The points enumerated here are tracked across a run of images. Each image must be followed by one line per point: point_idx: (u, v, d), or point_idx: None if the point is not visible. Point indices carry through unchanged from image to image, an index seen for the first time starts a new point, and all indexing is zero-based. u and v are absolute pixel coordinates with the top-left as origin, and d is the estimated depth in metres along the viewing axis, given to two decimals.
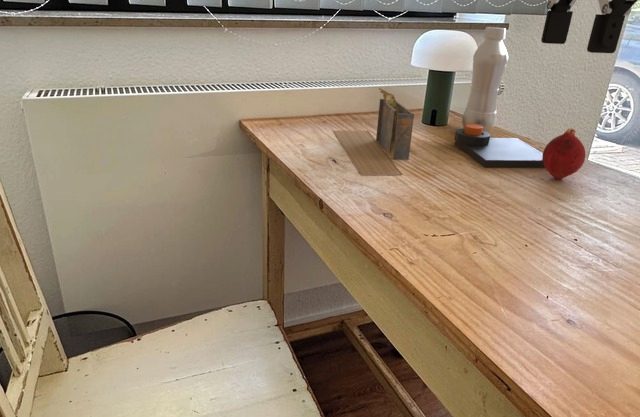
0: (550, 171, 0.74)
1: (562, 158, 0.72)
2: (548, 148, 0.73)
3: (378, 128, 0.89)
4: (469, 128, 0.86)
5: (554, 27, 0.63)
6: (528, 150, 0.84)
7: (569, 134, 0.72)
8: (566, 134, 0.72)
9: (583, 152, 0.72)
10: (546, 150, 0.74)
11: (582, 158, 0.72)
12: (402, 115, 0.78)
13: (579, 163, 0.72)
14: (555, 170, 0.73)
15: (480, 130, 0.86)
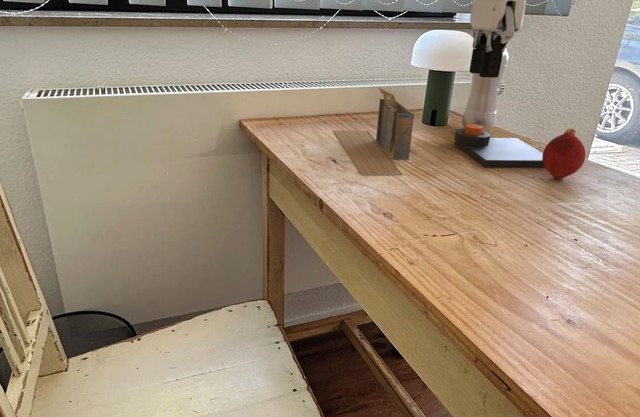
0: (550, 171, 0.74)
1: (562, 158, 0.72)
2: (548, 148, 0.73)
3: (378, 128, 0.89)
4: (469, 128, 0.86)
5: (478, 61, 0.84)
6: (528, 150, 0.84)
7: (569, 134, 0.72)
8: (566, 134, 0.72)
9: (583, 152, 0.72)
10: (546, 150, 0.74)
11: (582, 158, 0.72)
12: (402, 115, 0.78)
13: (579, 163, 0.72)
14: (555, 170, 0.73)
15: (480, 130, 0.86)
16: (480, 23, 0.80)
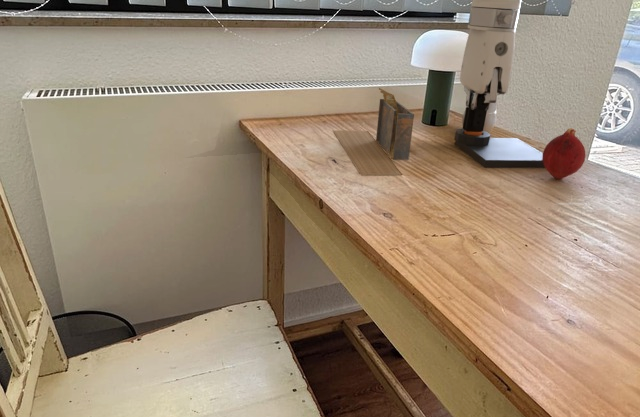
0: (550, 171, 0.74)
1: (562, 158, 0.72)
2: (548, 148, 0.73)
3: (378, 128, 0.89)
4: (468, 133, 0.86)
5: None
6: (528, 150, 0.84)
7: (569, 134, 0.72)
8: (566, 134, 0.72)
9: (583, 152, 0.72)
10: (546, 150, 0.74)
11: (582, 158, 0.72)
12: (402, 115, 0.78)
13: (579, 163, 0.72)
14: (555, 170, 0.73)
15: (479, 135, 0.86)
16: (469, 83, 0.84)
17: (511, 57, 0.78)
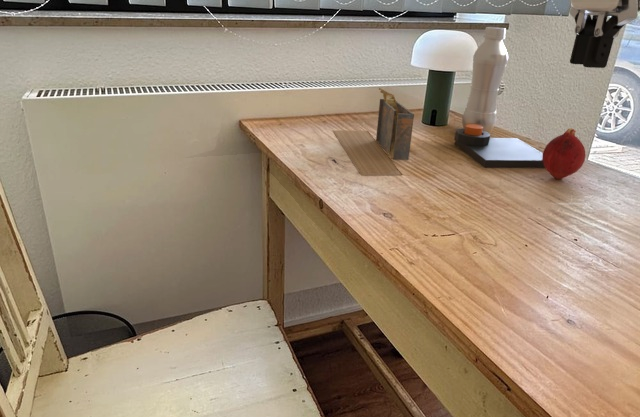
0: (550, 171, 0.74)
1: (562, 158, 0.72)
2: (548, 148, 0.73)
3: (378, 128, 0.89)
4: (469, 128, 0.86)
5: (582, 49, 0.69)
6: (528, 150, 0.84)
7: (569, 134, 0.72)
8: (566, 134, 0.72)
9: (583, 152, 0.72)
10: (546, 150, 0.74)
11: (582, 158, 0.72)
12: (402, 115, 0.78)
13: (579, 163, 0.72)
14: (555, 170, 0.73)
15: (480, 130, 0.86)
16: (589, 1, 0.65)
17: None
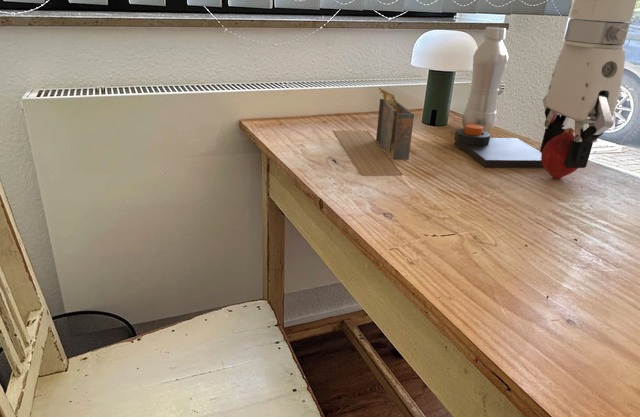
0: (548, 170, 0.75)
1: (559, 158, 0.72)
2: (547, 148, 0.74)
3: (378, 128, 0.89)
4: (469, 128, 0.86)
5: None
6: (528, 150, 0.84)
7: (567, 133, 0.73)
8: (564, 133, 0.73)
9: None
10: (544, 149, 0.74)
11: None
12: (402, 115, 0.78)
13: None
14: (553, 169, 0.74)
15: (480, 130, 0.86)
16: (562, 108, 0.71)
17: (620, 79, 0.65)
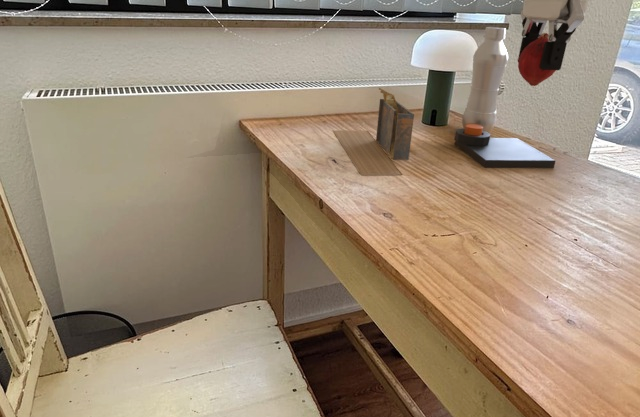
0: (525, 76, 0.77)
1: (535, 61, 0.74)
2: (523, 53, 0.76)
3: (378, 128, 0.89)
4: (469, 128, 0.86)
5: None
6: (528, 150, 0.84)
7: (542, 37, 0.75)
8: (540, 38, 0.75)
9: None
10: (521, 55, 0.76)
11: None
12: (402, 115, 0.78)
13: None
14: (529, 74, 0.76)
15: (480, 130, 0.86)
16: (537, 11, 0.73)
17: None
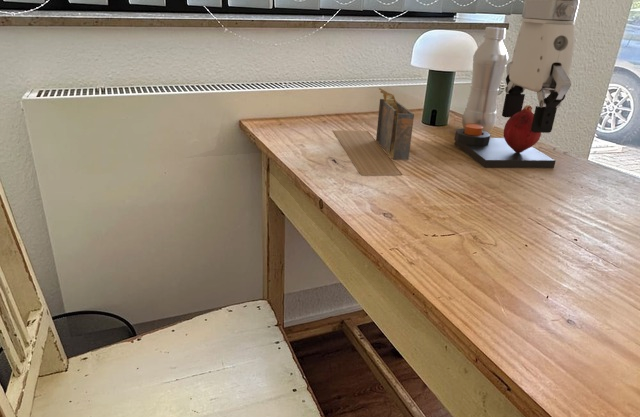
0: (509, 145, 0.82)
1: (518, 132, 0.79)
2: (508, 124, 0.81)
3: (378, 128, 0.89)
4: (469, 128, 0.86)
5: (511, 106, 0.84)
6: (528, 150, 0.84)
7: (526, 110, 0.79)
8: (523, 110, 0.80)
9: None
10: (506, 125, 0.81)
11: None
12: (402, 115, 0.78)
13: (535, 137, 0.79)
14: (513, 143, 0.80)
15: (480, 130, 0.86)
16: (522, 81, 0.78)
17: (571, 52, 0.72)
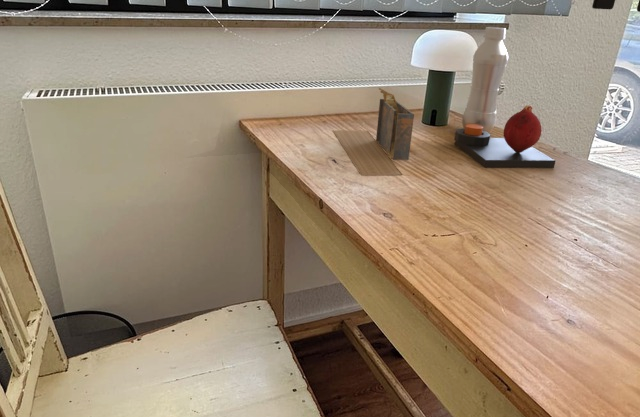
0: (509, 145, 0.82)
1: (518, 132, 0.79)
2: (508, 124, 0.81)
3: (378, 128, 0.89)
4: (469, 128, 0.86)
5: None
6: (528, 150, 0.84)
7: (526, 110, 0.79)
8: (523, 110, 0.80)
9: (538, 127, 0.79)
10: (506, 125, 0.81)
11: (537, 132, 0.79)
12: (402, 115, 0.78)
13: (535, 137, 0.79)
14: (513, 143, 0.80)
15: (480, 130, 0.86)
16: None
17: None
